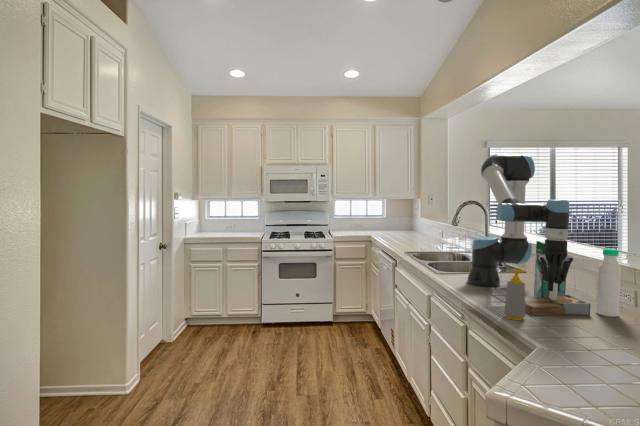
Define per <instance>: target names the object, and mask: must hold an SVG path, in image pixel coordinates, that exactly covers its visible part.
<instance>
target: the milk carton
mask: <svg viewBox="0 0 640 426" xmlns="http://www.w3.org/2000/svg"><path fill="white" fill-rule="evenodd" d="M544 251H545V241H544V242H543V241H540V240H536V246H535V264H534V265H535V267H534V269H535V270H534V284H533V286H534V287H533V288H534V289H533V297H544V294H549V292H550V291H549V290H548V282H547V281H545V280H543V277H542V272H541V266H540V262H539V260H538V259H537V257H538V256H542V255H543V254H544ZM566 252H567V253H568V249H567V250H566ZM563 262H564V260H563ZM563 262H562V266H563ZM546 264H547V269H548V261H547V259H546ZM561 269H562V267H561ZM566 284H567V279H566V280H565V282H562V283H561V284H560V288H559V291H557V294H566V286H567V285H566Z"/></svg>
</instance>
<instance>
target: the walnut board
mask: <svg viewBox="0 0 640 426" xmlns="http://www.w3.org/2000/svg"><path fill="white" fill-rule="evenodd" d="M526 312H527V313H528V314H529V315H531V316H551V317H552V316H554V317H556V316H557V317H560V316H561V317H564V316H566V315H565V308H564V307H562V306H560V305H558V304H556V303H554V302H552V301H550V300H548V299H546V298H544V297H534V296H525V313H526Z"/></svg>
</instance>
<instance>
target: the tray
mask: <svg viewBox="0 0 640 426" xmlns="http://www.w3.org/2000/svg"><path fill="white" fill-rule="evenodd" d="M557 296H566V297H568V298H571V297H572V298H574V299H577V300H579V301H580V302H581V303H563V307H564V308H565V316H591V304H592V303H590V302H587V301H586V300H583V299H580V298H578V297H576V296H573V295H570V294H568V293H567V294H566V293H565V294H557ZM544 298H546V299H548V300H550V301H552V300H551V299H550V298H549V294H544ZM552 302H554V301H552ZM554 303H556V302H554ZM556 304H558V303H556ZM558 305H560V306H561V304H558Z"/></svg>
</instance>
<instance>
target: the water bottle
mask: <svg viewBox="0 0 640 426" xmlns="http://www.w3.org/2000/svg"><path fill="white" fill-rule="evenodd" d="M619 253H620V252H619V250H618V249H616V248H615V249H614V248H604V249H602V255H603V259H602V260H601V261H600V263H599V264H598V267H597V270H598V273H597V282H596V283H597V284H596V287H597V288H596V289H597V291H596V292H597V295H596V305H595V313H596V314H598V315H600V316H602V317H603V316H604V317H609V318H616V317H619V315H620V303H621V302H620V294H621V286H622V285H621V282H622V276H621V272H622V267H621V265H620V262H619V260H618V259H617V258H618V257H619Z"/></svg>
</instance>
